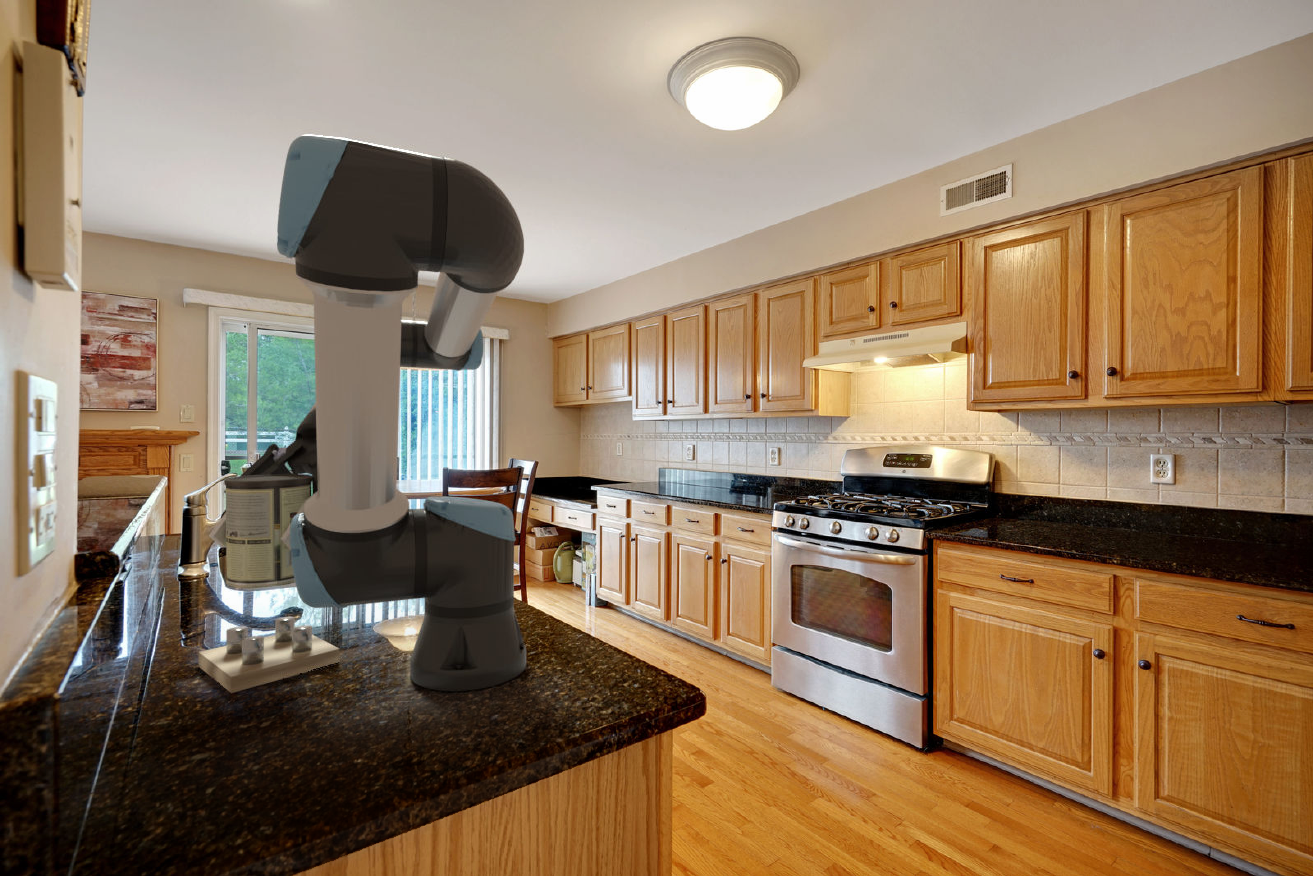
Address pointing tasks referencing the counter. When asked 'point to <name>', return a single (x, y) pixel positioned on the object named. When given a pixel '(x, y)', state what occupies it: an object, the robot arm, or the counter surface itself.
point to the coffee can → (261, 527)
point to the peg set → (255, 645)
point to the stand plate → (265, 663)
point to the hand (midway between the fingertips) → (252, 543)
